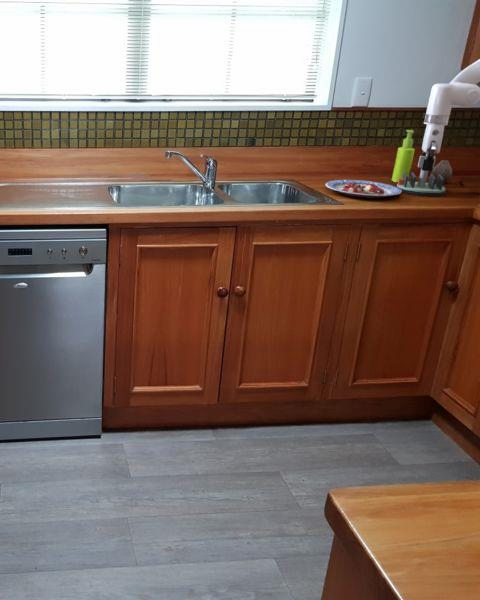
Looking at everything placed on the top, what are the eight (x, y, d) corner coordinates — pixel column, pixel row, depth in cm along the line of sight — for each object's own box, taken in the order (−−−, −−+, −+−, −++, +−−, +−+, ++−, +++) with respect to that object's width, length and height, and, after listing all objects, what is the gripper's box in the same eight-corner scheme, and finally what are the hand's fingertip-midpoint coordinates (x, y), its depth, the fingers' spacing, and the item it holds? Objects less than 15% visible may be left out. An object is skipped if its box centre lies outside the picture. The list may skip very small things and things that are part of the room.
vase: (430, 183, 242) (436, 161, 238) (428, 180, 248) (434, 158, 244) (450, 185, 239) (456, 162, 236) (448, 181, 245) (453, 159, 242)
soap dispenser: (406, 180, 247) (417, 129, 239) (408, 183, 241) (420, 131, 233) (390, 179, 249) (400, 128, 241) (392, 182, 243) (403, 131, 235)
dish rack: (441, 185, 231) (449, 154, 227) (448, 194, 218) (456, 161, 213) (395, 182, 237) (401, 151, 232) (398, 190, 223) (405, 158, 218)
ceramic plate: (324, 183, 239) (325, 175, 238) (396, 188, 231) (397, 181, 230) (325, 197, 217) (326, 189, 216) (404, 204, 209) (406, 195, 208)
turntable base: (441, 189, 232) (442, 186, 232) (449, 198, 218) (449, 195, 217) (392, 185, 238) (393, 182, 237) (396, 194, 223) (397, 191, 223)
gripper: (452, 123, 209) (439, 173, 216) (444, 118, 224) (433, 165, 231) (427, 121, 211) (416, 171, 218) (421, 117, 226) (411, 163, 233)
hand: (425, 168), depth 224 cm, fingers open, 8 cm apart
